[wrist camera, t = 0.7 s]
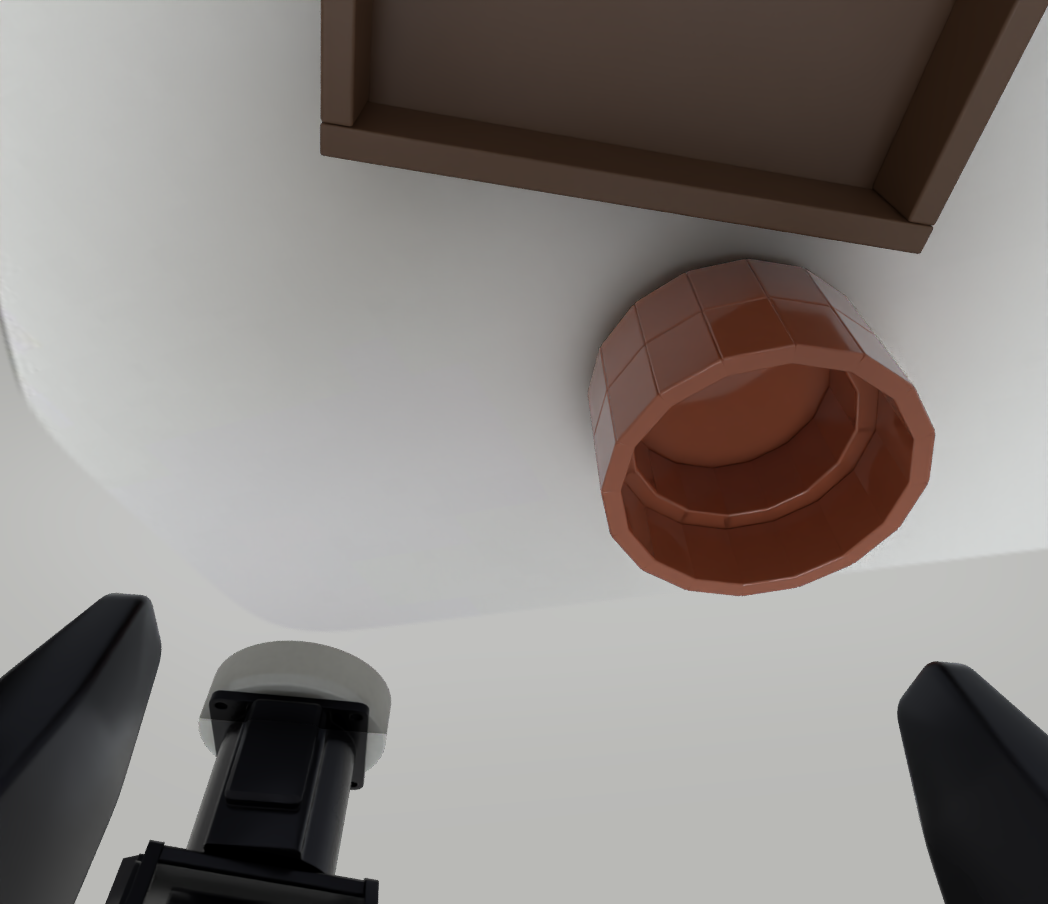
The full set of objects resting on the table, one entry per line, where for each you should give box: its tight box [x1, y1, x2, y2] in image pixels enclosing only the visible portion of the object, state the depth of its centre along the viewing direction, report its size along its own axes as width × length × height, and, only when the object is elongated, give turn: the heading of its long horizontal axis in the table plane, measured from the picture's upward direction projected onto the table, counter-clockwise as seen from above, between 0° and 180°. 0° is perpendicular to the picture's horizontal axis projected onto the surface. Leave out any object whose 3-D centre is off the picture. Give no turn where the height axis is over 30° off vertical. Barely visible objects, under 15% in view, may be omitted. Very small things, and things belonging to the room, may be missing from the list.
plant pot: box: [588, 259, 935, 596], centre depth 18 cm, size 7×7×4 cm
